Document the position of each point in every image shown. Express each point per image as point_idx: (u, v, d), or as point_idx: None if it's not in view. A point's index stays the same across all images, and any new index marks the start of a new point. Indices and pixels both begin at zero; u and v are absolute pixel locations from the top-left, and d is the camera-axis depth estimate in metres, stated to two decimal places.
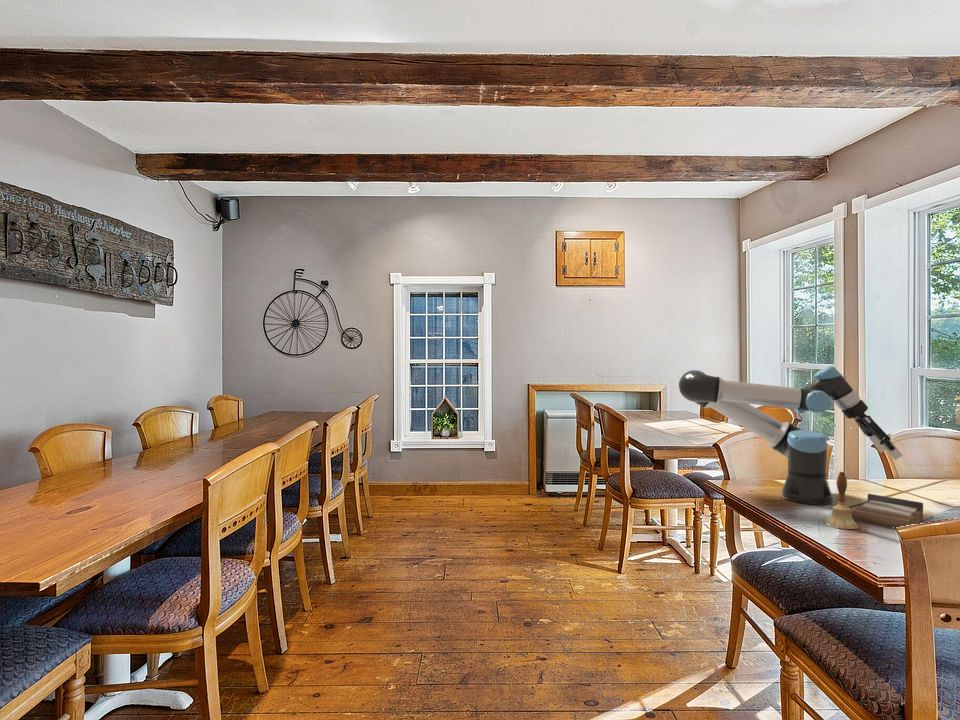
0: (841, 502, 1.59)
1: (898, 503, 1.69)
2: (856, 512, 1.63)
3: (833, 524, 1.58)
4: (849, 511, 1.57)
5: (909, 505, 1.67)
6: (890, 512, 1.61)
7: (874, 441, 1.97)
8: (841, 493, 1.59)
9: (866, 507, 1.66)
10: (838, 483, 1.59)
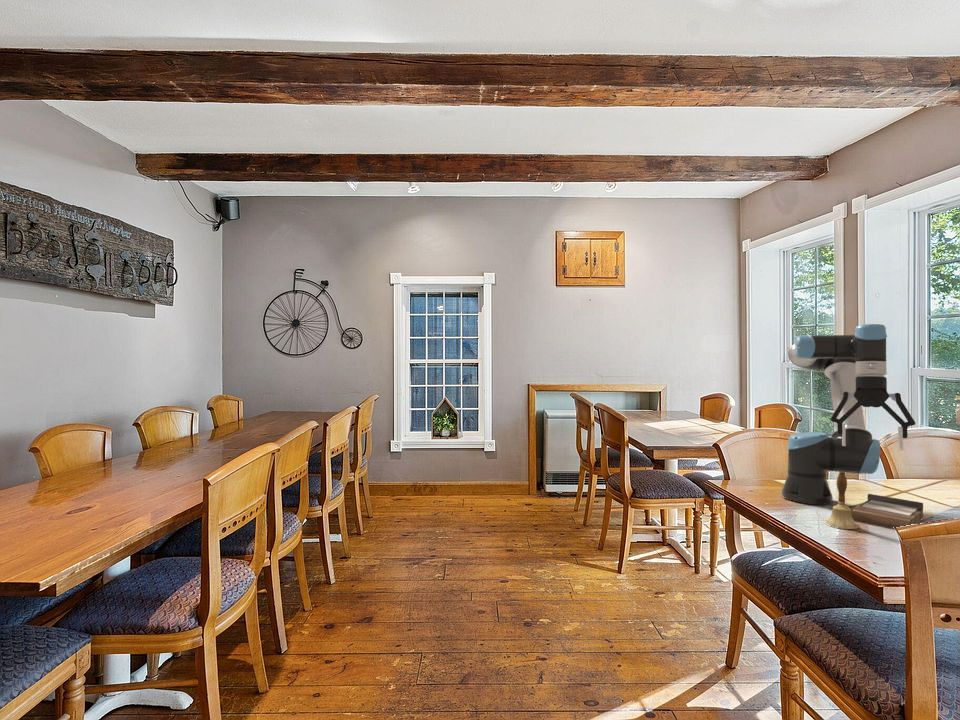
0: (841, 502, 1.59)
1: (898, 503, 1.69)
2: (856, 512, 1.63)
3: (833, 524, 1.58)
4: (849, 511, 1.57)
5: (909, 505, 1.67)
6: (890, 512, 1.61)
7: (898, 433, 1.55)
8: (841, 493, 1.59)
9: (866, 507, 1.66)
10: (838, 483, 1.59)
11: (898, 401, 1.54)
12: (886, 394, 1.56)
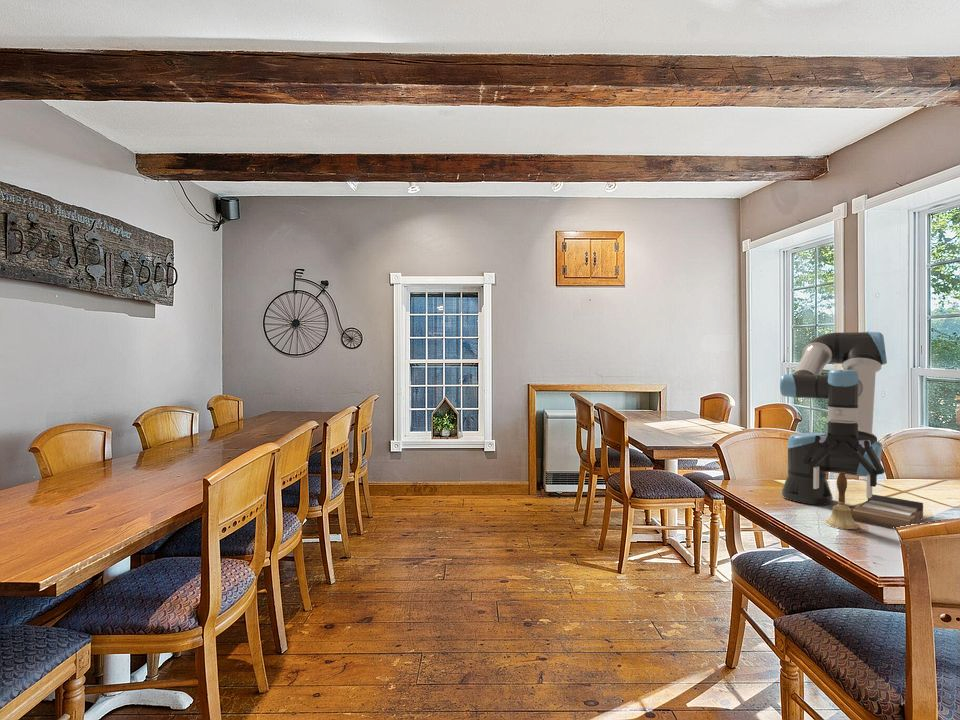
0: (841, 502, 1.59)
1: (898, 503, 1.69)
2: (856, 512, 1.63)
3: (833, 524, 1.58)
4: (849, 511, 1.57)
5: (909, 505, 1.67)
6: (890, 512, 1.61)
7: None
8: (841, 493, 1.59)
9: (866, 507, 1.66)
10: (838, 483, 1.59)
11: (866, 449, 1.53)
12: (855, 441, 1.55)
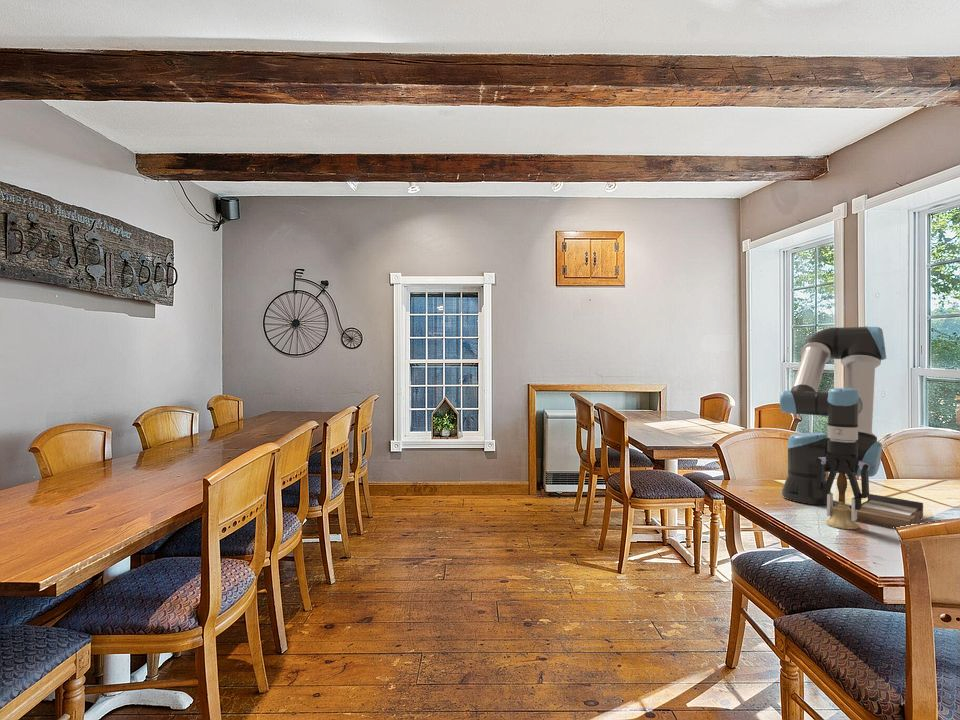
0: (841, 502, 1.59)
1: (898, 503, 1.69)
2: None
3: (833, 524, 1.58)
4: (849, 511, 1.57)
5: (909, 505, 1.67)
6: (890, 512, 1.61)
7: None
8: (841, 493, 1.59)
9: (866, 507, 1.66)
10: (838, 483, 1.59)
11: (862, 472, 1.54)
12: (855, 461, 1.56)
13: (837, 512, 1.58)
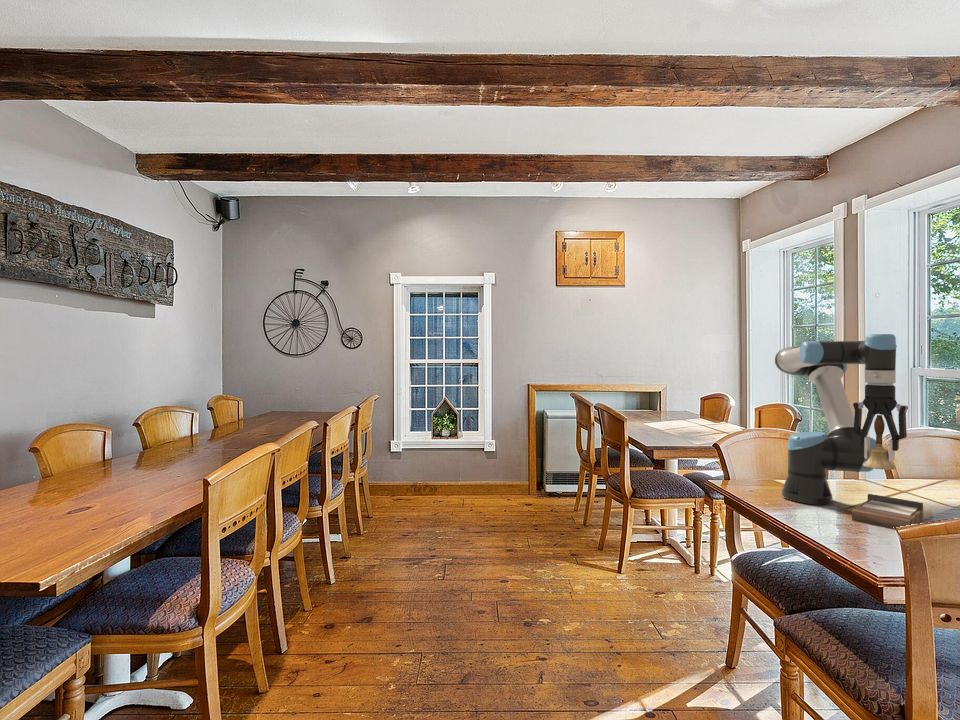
0: (878, 444, 1.64)
1: (898, 503, 1.69)
2: (856, 512, 1.63)
3: (870, 465, 1.63)
4: (886, 452, 1.62)
5: (909, 505, 1.67)
6: (890, 512, 1.61)
7: None
8: (878, 435, 1.64)
9: (866, 507, 1.66)
10: (875, 426, 1.64)
11: (900, 413, 1.59)
12: (893, 403, 1.60)
13: (874, 454, 1.63)
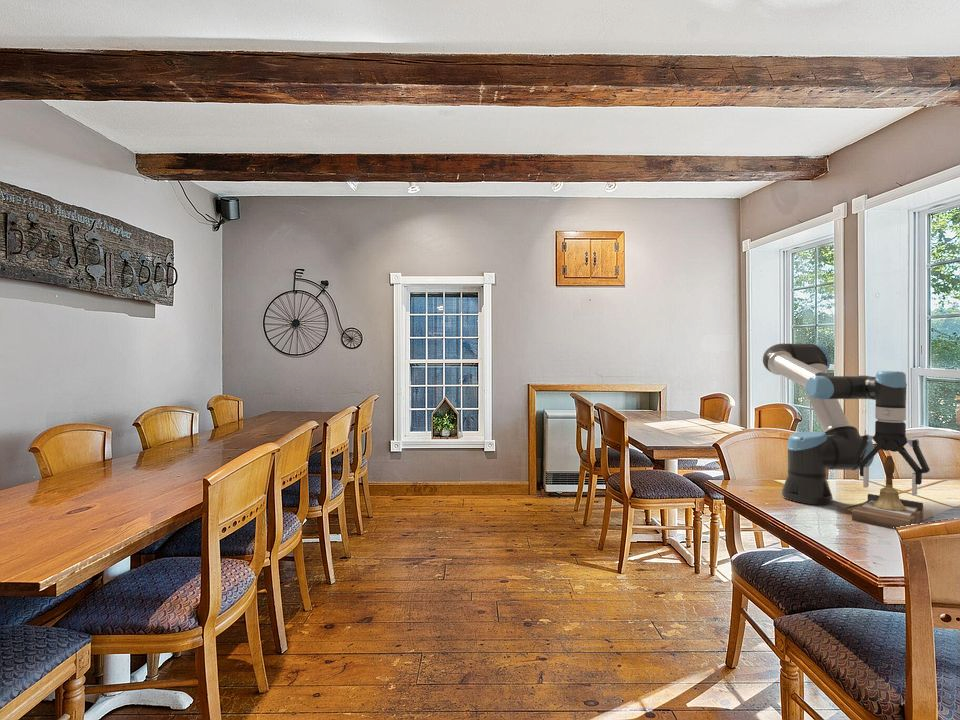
0: (888, 484, 1.65)
1: None
2: (856, 512, 1.63)
3: (881, 506, 1.65)
4: (897, 493, 1.64)
5: (909, 505, 1.67)
6: (890, 512, 1.61)
7: None
8: (889, 476, 1.65)
9: (866, 507, 1.66)
10: (886, 466, 1.66)
11: (914, 448, 1.60)
12: (903, 440, 1.62)
13: (885, 494, 1.65)
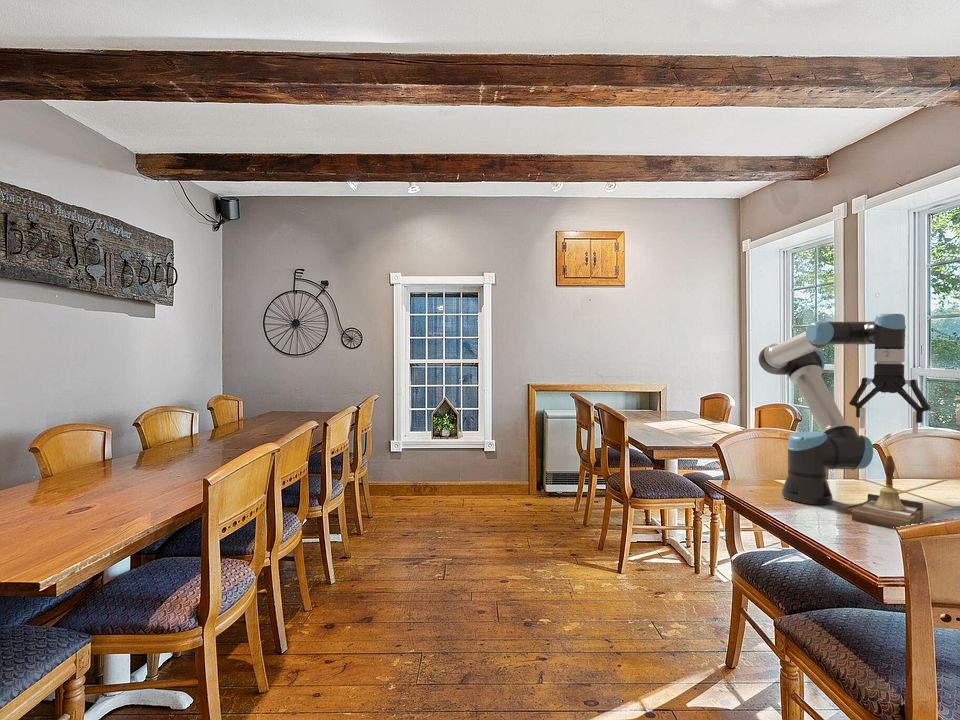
0: (888, 484, 1.65)
1: None
2: (856, 512, 1.63)
3: (881, 506, 1.65)
4: (897, 493, 1.64)
5: (909, 505, 1.67)
6: (890, 512, 1.61)
7: None
8: (889, 476, 1.65)
9: (866, 507, 1.66)
10: (886, 467, 1.66)
11: (913, 387, 1.62)
12: (902, 381, 1.64)
13: (885, 494, 1.65)
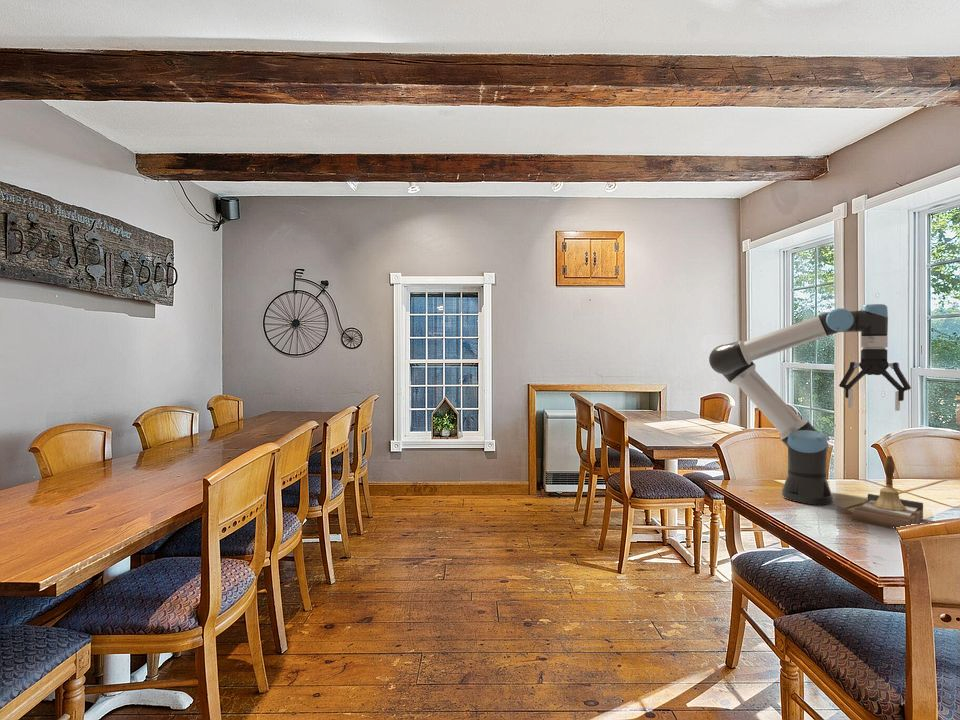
0: (888, 484, 1.65)
1: None
2: (856, 512, 1.63)
3: (881, 506, 1.65)
4: (897, 493, 1.64)
5: (909, 505, 1.67)
6: (890, 512, 1.61)
7: None
8: (889, 476, 1.65)
9: (866, 507, 1.66)
10: (886, 466, 1.66)
11: (895, 369, 1.82)
12: (885, 364, 1.84)
13: (885, 494, 1.65)
